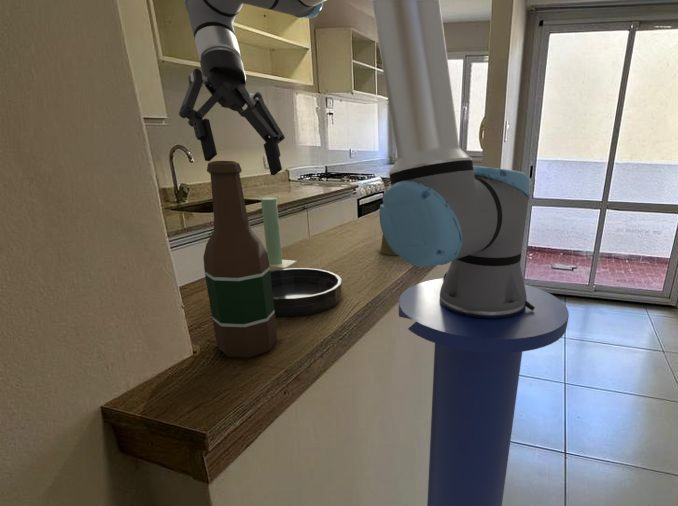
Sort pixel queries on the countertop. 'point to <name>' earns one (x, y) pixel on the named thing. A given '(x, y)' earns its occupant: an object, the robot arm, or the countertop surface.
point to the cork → (386, 247)
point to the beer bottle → (237, 271)
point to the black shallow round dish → (304, 291)
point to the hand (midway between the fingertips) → (246, 165)
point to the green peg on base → (274, 236)
